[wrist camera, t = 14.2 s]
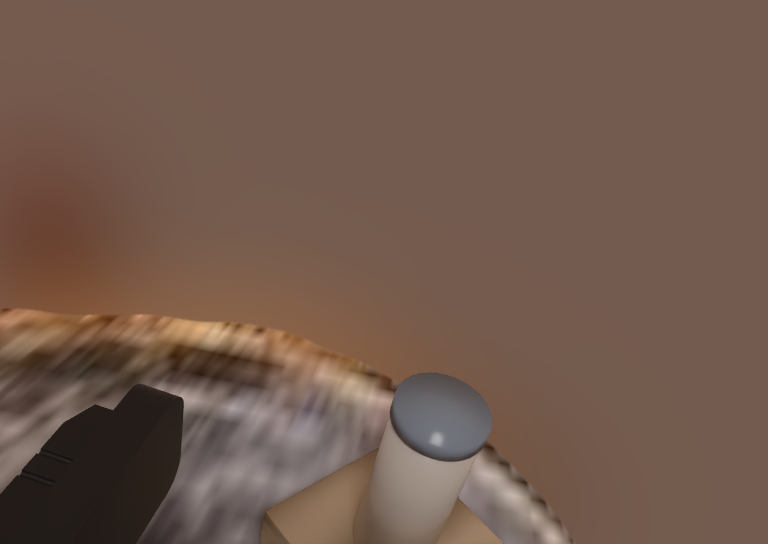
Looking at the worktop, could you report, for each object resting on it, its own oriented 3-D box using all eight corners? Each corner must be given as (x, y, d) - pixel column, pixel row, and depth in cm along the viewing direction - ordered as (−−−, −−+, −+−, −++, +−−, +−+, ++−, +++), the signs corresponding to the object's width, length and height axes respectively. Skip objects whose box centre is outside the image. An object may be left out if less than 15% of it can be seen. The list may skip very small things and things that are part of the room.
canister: (333, 524, 41) (373, 394, 35) (395, 485, 45) (441, 360, 39) (391, 593, 38) (445, 464, 32) (452, 546, 42) (512, 422, 36)
